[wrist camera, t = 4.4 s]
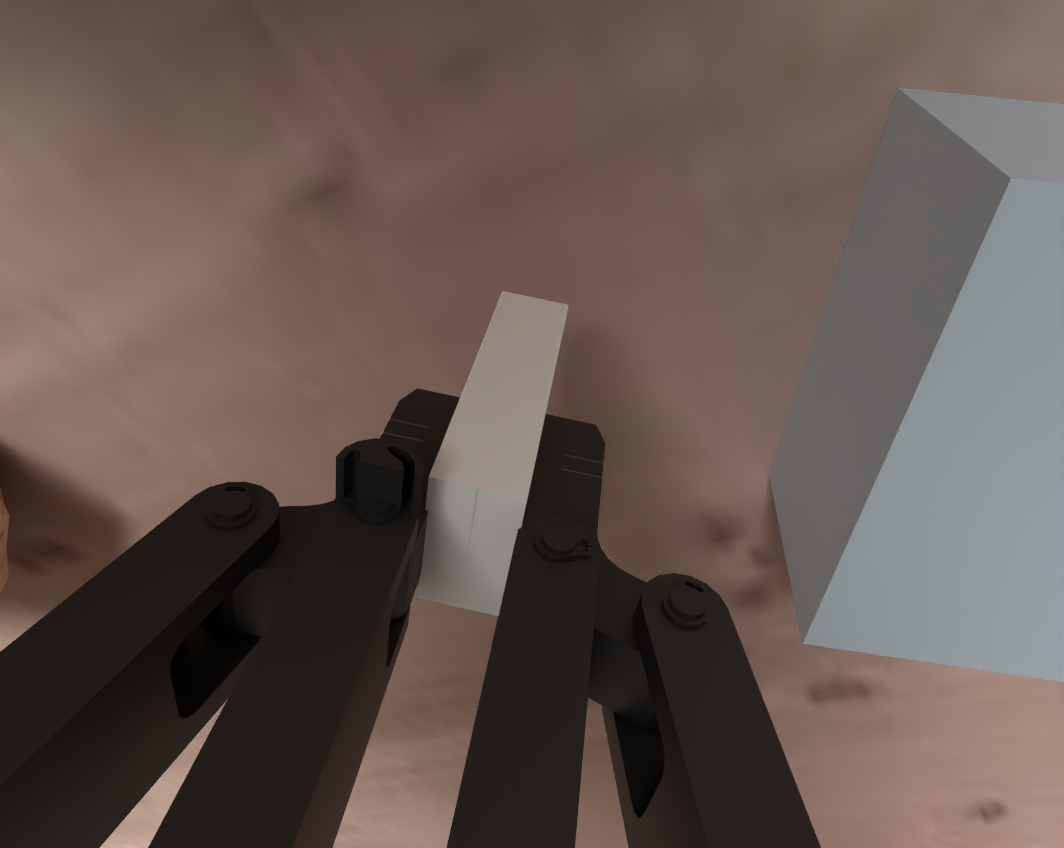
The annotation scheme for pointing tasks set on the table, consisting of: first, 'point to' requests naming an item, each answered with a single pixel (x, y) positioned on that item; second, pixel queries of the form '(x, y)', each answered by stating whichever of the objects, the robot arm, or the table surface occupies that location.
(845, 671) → the table surface
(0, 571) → the rock
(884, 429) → the block
